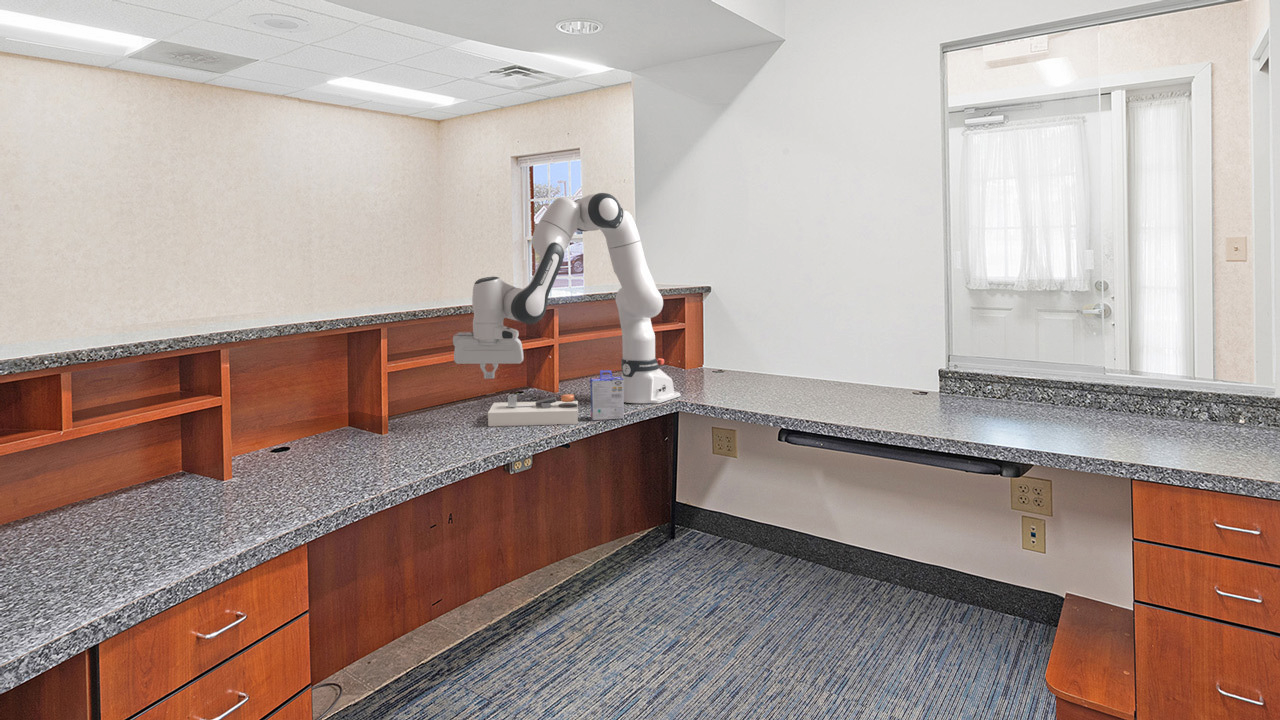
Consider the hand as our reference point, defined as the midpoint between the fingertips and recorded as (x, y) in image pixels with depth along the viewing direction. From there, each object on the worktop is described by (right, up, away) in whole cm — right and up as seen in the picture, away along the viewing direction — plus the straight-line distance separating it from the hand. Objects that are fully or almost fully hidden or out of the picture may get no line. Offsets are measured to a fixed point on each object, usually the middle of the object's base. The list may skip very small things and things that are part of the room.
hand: (489, 378), depth 215 cm
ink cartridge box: (+35, -12, +5) cm, 37 cm away
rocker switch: (+17, -7, +2) cm, 18 cm away
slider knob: (+7, -8, +2) cm, 11 cm away
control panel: (+13, -13, +3) cm, 18 cm away
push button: (+23, -7, +3) cm, 24 cm away
